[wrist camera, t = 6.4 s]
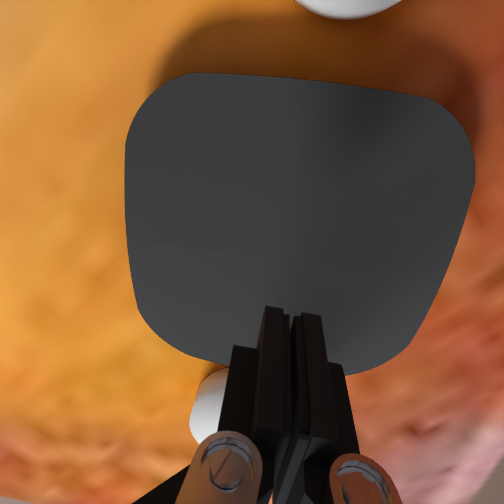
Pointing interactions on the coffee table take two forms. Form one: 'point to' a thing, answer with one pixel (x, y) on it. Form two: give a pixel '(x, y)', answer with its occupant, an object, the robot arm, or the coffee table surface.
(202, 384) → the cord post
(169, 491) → the robot arm
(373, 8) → the post
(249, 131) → the media streaming box
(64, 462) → the coffee table surface
